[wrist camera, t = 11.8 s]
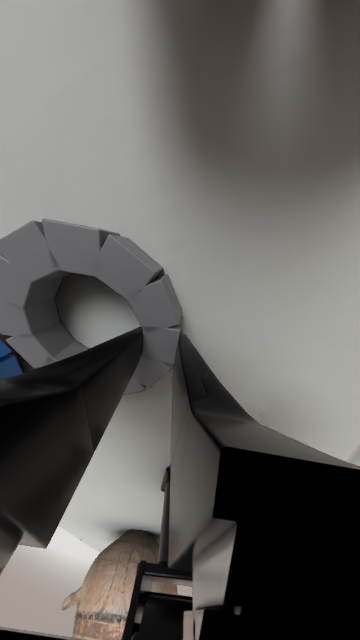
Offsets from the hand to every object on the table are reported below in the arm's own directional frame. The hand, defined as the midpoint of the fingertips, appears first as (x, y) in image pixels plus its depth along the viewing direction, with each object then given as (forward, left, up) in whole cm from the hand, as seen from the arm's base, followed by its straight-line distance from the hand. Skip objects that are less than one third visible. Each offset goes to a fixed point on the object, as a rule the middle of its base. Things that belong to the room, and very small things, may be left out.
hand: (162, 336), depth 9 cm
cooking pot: (-57, -1, -1) cm, 57 cm away
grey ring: (0, +4, -1) cm, 4 cm away
